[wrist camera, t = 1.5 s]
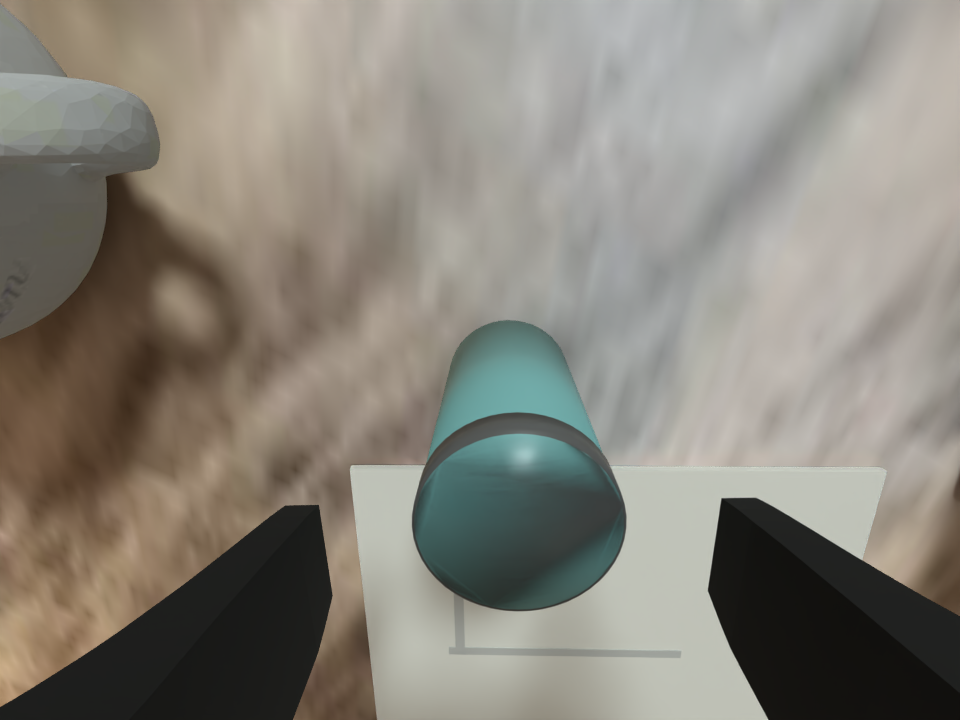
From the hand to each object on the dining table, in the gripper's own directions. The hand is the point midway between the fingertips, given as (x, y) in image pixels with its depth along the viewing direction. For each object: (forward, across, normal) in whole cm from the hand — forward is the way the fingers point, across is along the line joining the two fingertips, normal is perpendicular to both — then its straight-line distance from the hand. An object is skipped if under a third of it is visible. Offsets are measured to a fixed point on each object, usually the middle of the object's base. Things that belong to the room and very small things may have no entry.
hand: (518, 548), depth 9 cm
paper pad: (+10, -4, +11) cm, 15 cm away
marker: (+10, 0, 0) cm, 10 cm away
